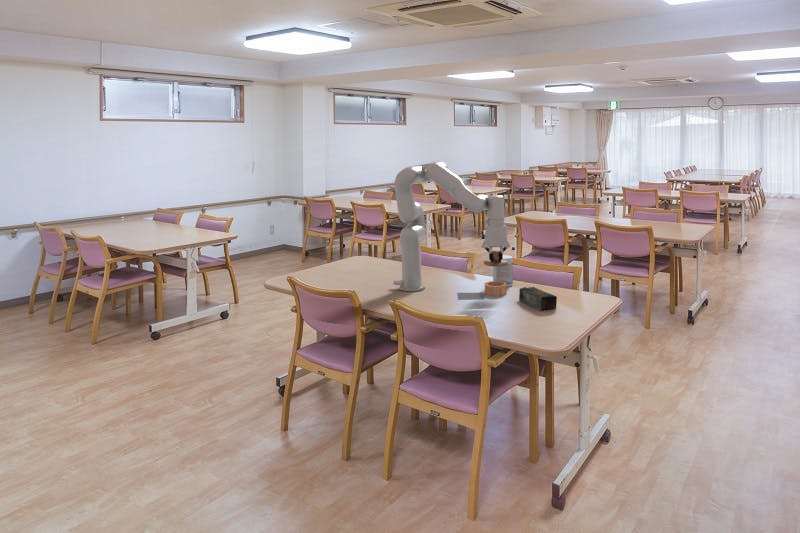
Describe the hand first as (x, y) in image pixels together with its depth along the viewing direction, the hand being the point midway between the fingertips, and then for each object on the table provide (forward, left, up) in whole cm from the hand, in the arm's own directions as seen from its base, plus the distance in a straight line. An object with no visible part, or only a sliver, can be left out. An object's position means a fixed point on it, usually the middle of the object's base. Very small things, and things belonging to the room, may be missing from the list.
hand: (495, 260), depth 282 cm
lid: (0, 0, -1) cm, 1 cm away
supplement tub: (+5, +16, -16) cm, 23 cm away
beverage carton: (+17, -18, -17) cm, 30 cm away
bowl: (0, 0, -16) cm, 16 cm away
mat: (-12, -5, -16) cm, 21 cm away
